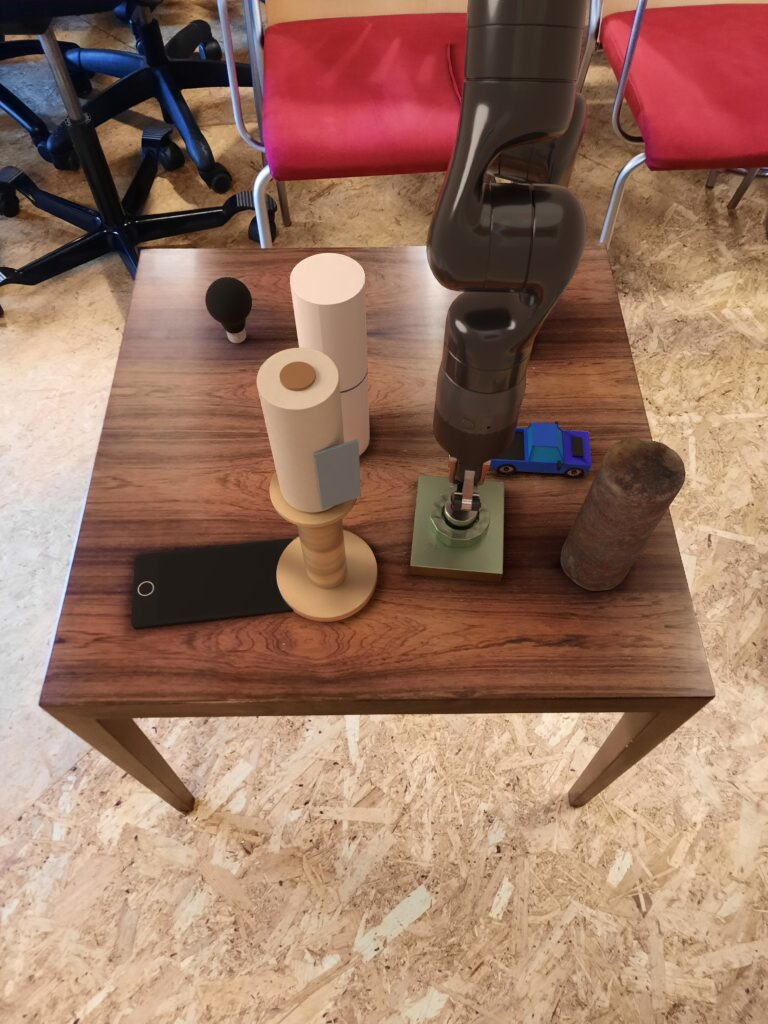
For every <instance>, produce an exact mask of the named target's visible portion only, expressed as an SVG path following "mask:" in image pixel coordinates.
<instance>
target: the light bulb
mask: <svg viewBox="0 0 768 1024" xmlns="http://www.w3.org/2000/svg"><path fill="white" fill-rule="evenodd" d="M204 301H205V308H206V309H207V312H208V313H209V315H210V316H211V317H212V318H213V320H215V321H217V322H218V323H220V324H221V326H222V327H223V329H224V331H225V332H226V336H227V339H228V340H229V341H230V342H231V343H234V344H240V343H242V342H244V341H245V339H246V338H247V332H246V324H247V323H246V322H247V318H248V316H249V315H250V313H251V312H252V308H253V297H252V293H251V291H250V289H249V288H248V286H247V285H246V284H245V283H244V282H243V281H241V280H240V279H238V278H236V277H231V276H224V277H220V278H217V279H216V280H213V281H212V283H211V284H210V285H209V286H208V288H207V290H206V293H205V298H204Z"/></svg>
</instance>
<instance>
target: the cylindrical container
mask: <svg viewBox="0 0 768 1024" xmlns="http://www.w3.org/2000/svg"><path fill="white" fill-rule="evenodd" d="M289 284H290V285H289V286H290V294H291V299H292V307H293V314H294V321H295V327H296V335H297V340H298V341H297V342H298V348H310V349H314V350H317V351H320V352H322V353H324V354H325V355H327V356H328V357H329V358H330V359H331V360H332V361H333V362H334V363H335V365H336V367H337V369H338V373H339V383H340V395H341V408H342V420H343V433H344V443H346V442H349V441H352V440H355V439H358V444H359V457H360V456H361V455H362V454H363V453H364V452H365V451H366V450H367V448H368V447H369V444H370V440H371V437H370V401H369V399H370V398H369V366H368V365H369V364H368V362H369V361H368V331H367V329H368V328H367V326H368V325H367V297H366V296H367V293H366V274H365V271H364V268H363V267H362V266H361V264H360V263H359V262H358V261H356V260H355V259H354V258H352V257H351V256H347V255H344V254H341V253H335V252H321V253H318V254H313V255H311V256H307V257H306V258H304V259H302V260H301V261H299V262H298V263H297V264H296V265H295V266H294V267H293V269H292V271H291V273H290V275H289Z"/></svg>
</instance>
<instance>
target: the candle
mask: <svg viewBox="0 0 768 1024" xmlns="http://www.w3.org/2000/svg"><path fill="white" fill-rule="evenodd" d="M686 473H687V472H686V468H685V462H684V461H683V459H682V458H681V456H680V455H679V453H678V452H677V451H676V450H674V449H672V448H671V447H670V446H668V445H667V444H665V443H663V442H660V441H656V440H641V439H639V438H638V437H636V436H634V437H632V436H631V437H625V438H622V439H621V440H620V441H617V442H615V443H614V444H612V445H611V447H609V448H608V450H607V452H606V453H605V454H604V456H603V459H602V461H601V463H600V465H599V467H598V469H597V471H596V474H595V476H594V478H593V479H592V482H591V484H590V487H589V489H588V492H587V494H586V495H585V498H584V501H583V503H582V505H581V506H580V509H579V511H578V513H577V515H576V517H575V519H574V521H573V523H572V525H571V527H570V529H569V532H568V533H567V536H566V538H565V541H564V542H563V545H562V548H561V551H560V566H561V569H562V570H563V572H564V574H565V575H566V576H567V577H568V578H569V579H570V580H571V581H572V582H574V583H575V584H576V585H578V586H579V587H581V588H583V589H585V590H587V591H592V592H594V591H597V592H600V591H601V592H602V591H609V590H612V589H614V588H615V587H617V586H618V585H620V584H621V583H622V582H623V581H624V579H625V578H626V576H627V574H628V573H629V572H630V570H631V568H632V567H633V566H634V564H635V562H636V561H637V559H638V557H639V556H640V554H641V553H642V550H643V549H644V548H645V546H646V544H647V543H648V541H649V539H650V538H651V536H652V534H653V532H654V531H655V530H656V529H657V527H658V525H659V523H660V522H661V520H662V519H663V517H664V516H665V514H666V513H667V511H668V509H669V508H670V506H671V504H672V503H673V502H674V501H675V499H676V497H677V496H678V495H679V492H680V491H681V490H682V488H683V486H684V484H685V481H686Z"/></svg>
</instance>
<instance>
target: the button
mask: <svg viewBox="0 0 768 1024" xmlns="http://www.w3.org/2000/svg"><path fill="white" fill-rule="evenodd" d="M450 498H451V497H450ZM450 498H449V499H448V500H447V501H446V503H445V509H444V519H445V521H446V522H447V524H448V525H449V526H451V527H453V528H455V529H461V530H462V529H467V528H469V527H471V526H472V525H473V524H474V523H475V521H476V518H477V513H478V511H468V512H465V511H454V509H451V501H450Z"/></svg>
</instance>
